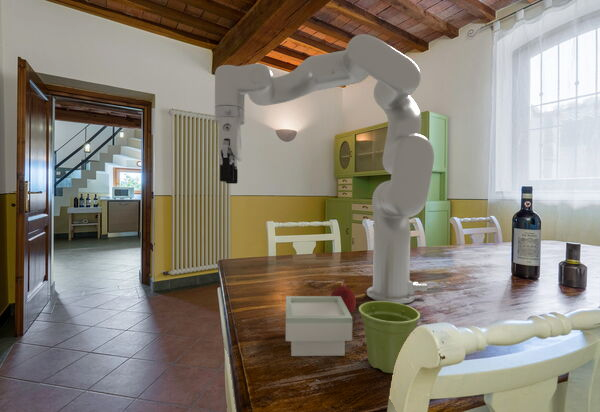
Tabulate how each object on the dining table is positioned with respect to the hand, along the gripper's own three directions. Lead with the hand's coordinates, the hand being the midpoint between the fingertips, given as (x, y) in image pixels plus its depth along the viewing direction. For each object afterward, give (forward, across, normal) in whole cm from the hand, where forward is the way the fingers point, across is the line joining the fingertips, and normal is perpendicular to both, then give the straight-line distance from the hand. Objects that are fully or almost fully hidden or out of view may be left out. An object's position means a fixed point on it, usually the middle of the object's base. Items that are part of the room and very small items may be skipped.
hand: (229, 182), depth 79 cm
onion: (+31, -16, -27) cm, 44 cm away
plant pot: (+31, -34, -30) cm, 55 cm away
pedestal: (+30, -26, -19) cm, 45 cm away
